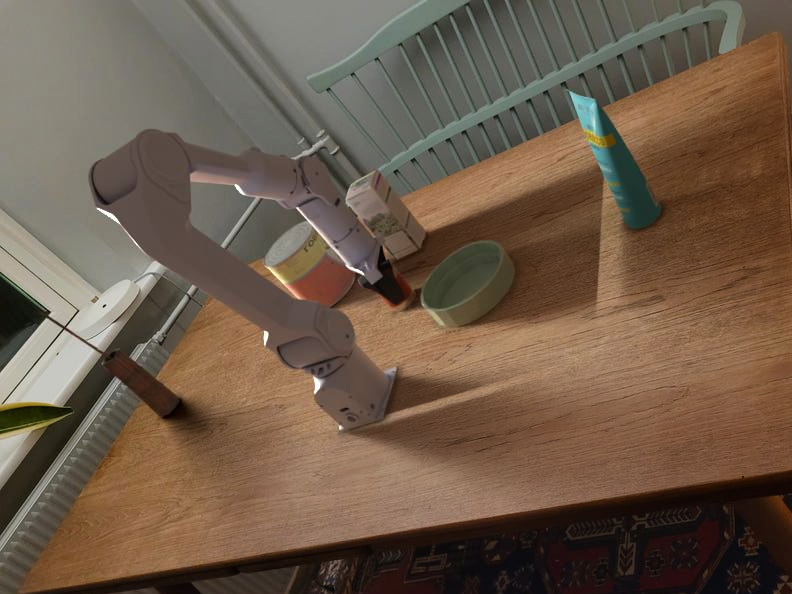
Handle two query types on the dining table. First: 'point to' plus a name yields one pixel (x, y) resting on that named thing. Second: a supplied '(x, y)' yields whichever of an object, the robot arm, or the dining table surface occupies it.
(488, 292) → the bowl
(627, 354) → the dining table surface
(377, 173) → the syrup box
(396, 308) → the tin can
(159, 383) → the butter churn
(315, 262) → the canned food
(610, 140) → the tube
